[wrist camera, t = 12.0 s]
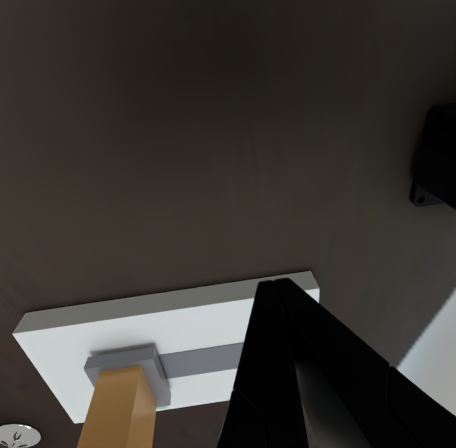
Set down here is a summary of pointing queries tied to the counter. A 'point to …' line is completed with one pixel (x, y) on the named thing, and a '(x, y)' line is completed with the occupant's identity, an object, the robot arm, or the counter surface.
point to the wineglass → (18, 435)
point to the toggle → (124, 399)
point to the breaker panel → (149, 339)
